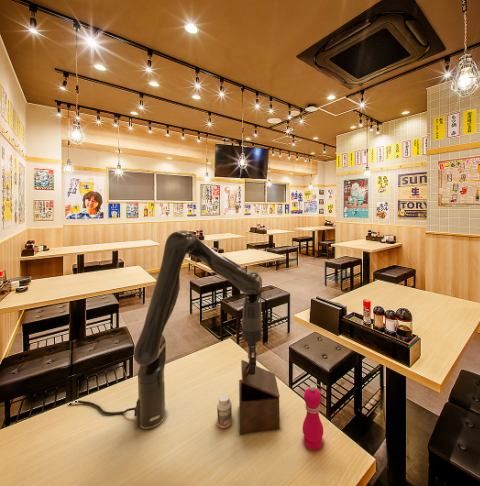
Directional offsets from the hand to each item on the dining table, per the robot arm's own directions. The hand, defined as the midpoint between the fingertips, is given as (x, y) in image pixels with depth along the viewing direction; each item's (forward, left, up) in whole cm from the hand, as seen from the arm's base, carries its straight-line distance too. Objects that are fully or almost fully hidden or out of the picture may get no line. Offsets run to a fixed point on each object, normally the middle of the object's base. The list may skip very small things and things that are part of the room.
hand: (251, 369), depth 99 cm
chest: (+2, 0, -20) cm, 20 cm away
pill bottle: (-11, 0, -20) cm, 23 cm away
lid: (+3, 0, -4) cm, 5 cm away
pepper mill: (+20, -13, -20) cm, 31 cm away
